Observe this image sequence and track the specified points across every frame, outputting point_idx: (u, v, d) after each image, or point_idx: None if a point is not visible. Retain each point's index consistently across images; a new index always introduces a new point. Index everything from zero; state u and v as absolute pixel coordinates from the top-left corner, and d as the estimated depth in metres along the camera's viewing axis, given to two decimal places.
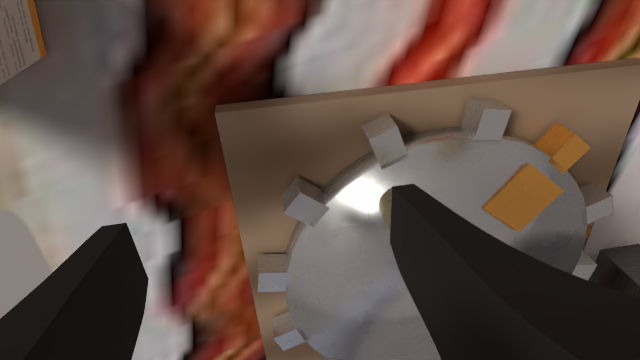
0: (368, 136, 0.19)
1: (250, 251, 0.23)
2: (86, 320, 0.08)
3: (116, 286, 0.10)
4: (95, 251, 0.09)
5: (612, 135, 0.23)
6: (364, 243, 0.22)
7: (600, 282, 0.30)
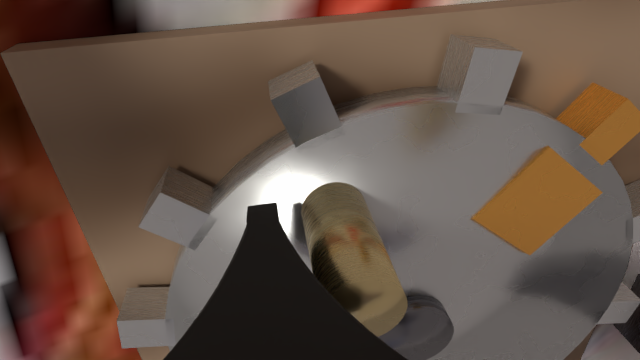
0: (272, 95, 0.11)
1: (117, 283, 0.15)
2: None
3: None
4: (269, 226, 0.10)
5: None
6: None
7: (637, 318, 0.22)
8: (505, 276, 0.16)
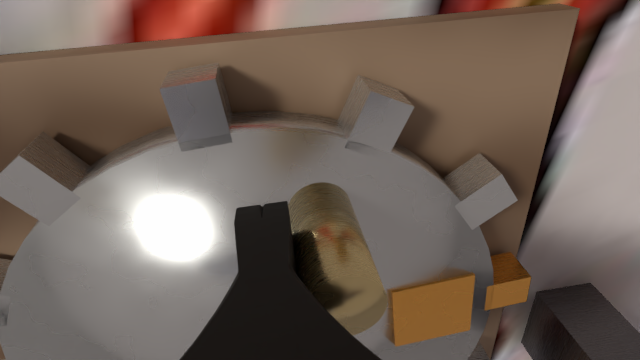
0: (369, 88, 0.12)
1: None
2: None
3: (293, 259, 0.10)
4: (281, 225, 0.10)
5: (526, 129, 0.15)
6: (226, 233, 0.13)
7: (538, 336, 0.22)
8: None
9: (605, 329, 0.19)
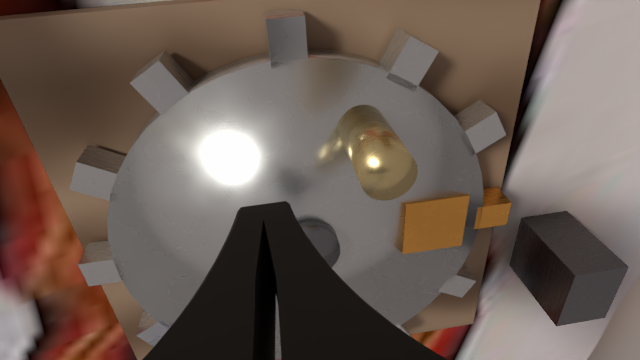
0: (408, 35, 0.16)
1: (73, 210, 0.19)
2: (262, 292, 0.09)
3: (267, 263, 0.10)
4: (253, 229, 0.10)
5: (508, 68, 0.19)
6: (291, 140, 0.17)
7: (522, 255, 0.26)
8: (379, 258, 0.22)
9: (576, 242, 0.24)
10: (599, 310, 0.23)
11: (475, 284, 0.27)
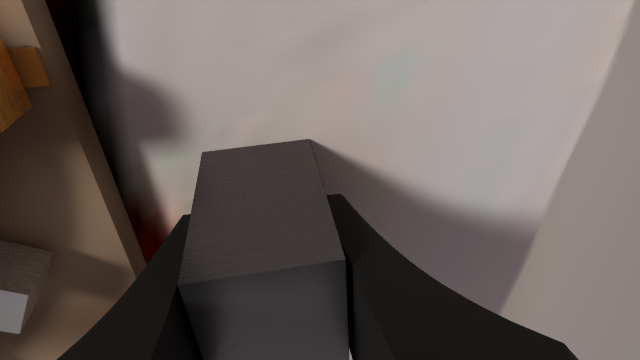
0: None
1: None
2: None
3: None
4: None
5: None
6: None
7: None
8: None
9: (267, 199, 0.09)
10: None
11: None
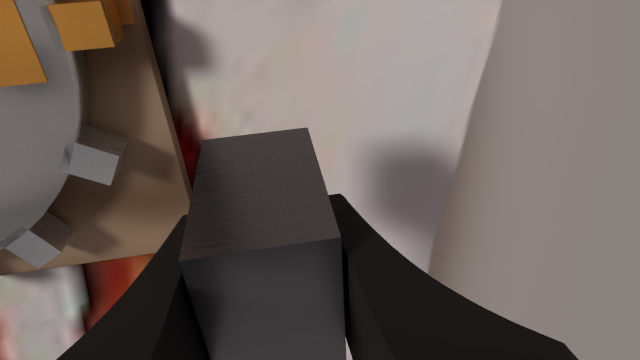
0: None
1: None
2: (189, 304, 0.08)
3: None
4: None
5: None
6: None
7: None
8: None
9: (266, 182, 0.10)
10: (320, 350, 0.09)
11: (174, 180, 0.18)
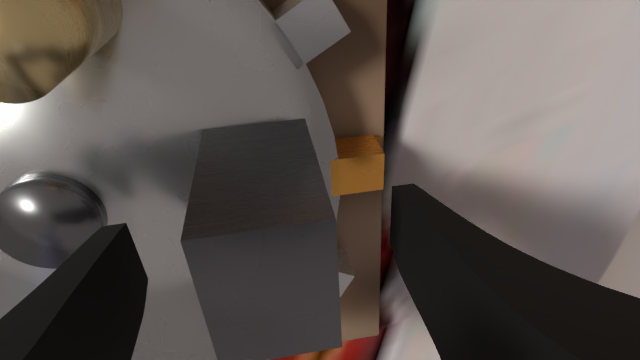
0: None
1: None
2: (86, 320, 0.08)
3: (116, 286, 0.10)
4: (95, 251, 0.09)
5: None
6: None
7: None
8: None
9: (264, 169, 0.10)
10: (316, 331, 0.10)
11: (371, 281, 0.19)
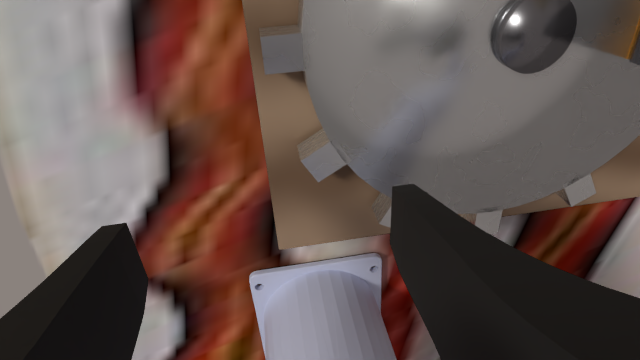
0: None
1: None
2: (86, 320, 0.08)
3: (116, 286, 0.10)
4: (95, 251, 0.09)
5: None
6: None
7: None
8: (598, 64, 0.18)
9: None
10: None
11: None
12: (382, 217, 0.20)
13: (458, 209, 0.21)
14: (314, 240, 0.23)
